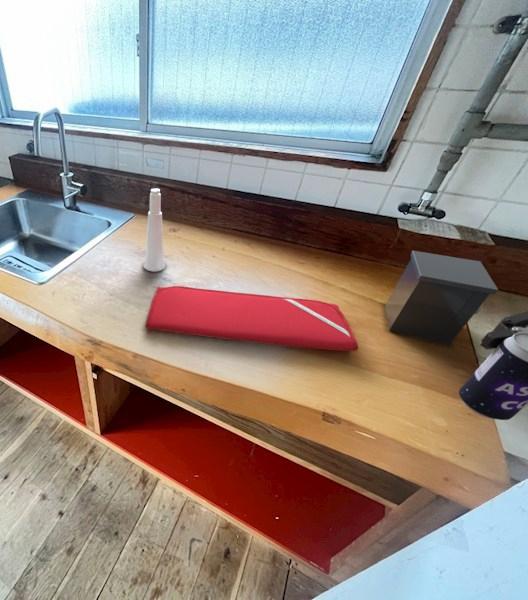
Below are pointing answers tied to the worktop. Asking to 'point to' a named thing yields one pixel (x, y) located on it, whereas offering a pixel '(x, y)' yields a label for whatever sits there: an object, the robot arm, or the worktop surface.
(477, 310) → the flush button
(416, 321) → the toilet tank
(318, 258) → the worktop surface
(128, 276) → the worktop surface
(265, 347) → the worktop surface
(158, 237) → the cosmetic bottle
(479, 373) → the beverage can
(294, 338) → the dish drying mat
